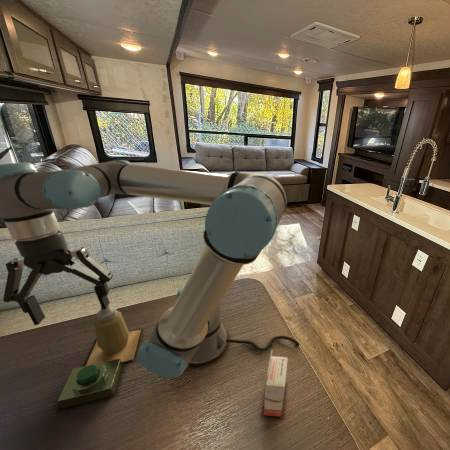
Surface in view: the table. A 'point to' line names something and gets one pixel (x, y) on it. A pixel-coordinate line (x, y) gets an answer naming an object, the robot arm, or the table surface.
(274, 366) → the ink cartridge box
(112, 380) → the green buzzer pad
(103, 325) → the squeeze bottle
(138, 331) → the oak mat
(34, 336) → the table surface
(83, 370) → the button
